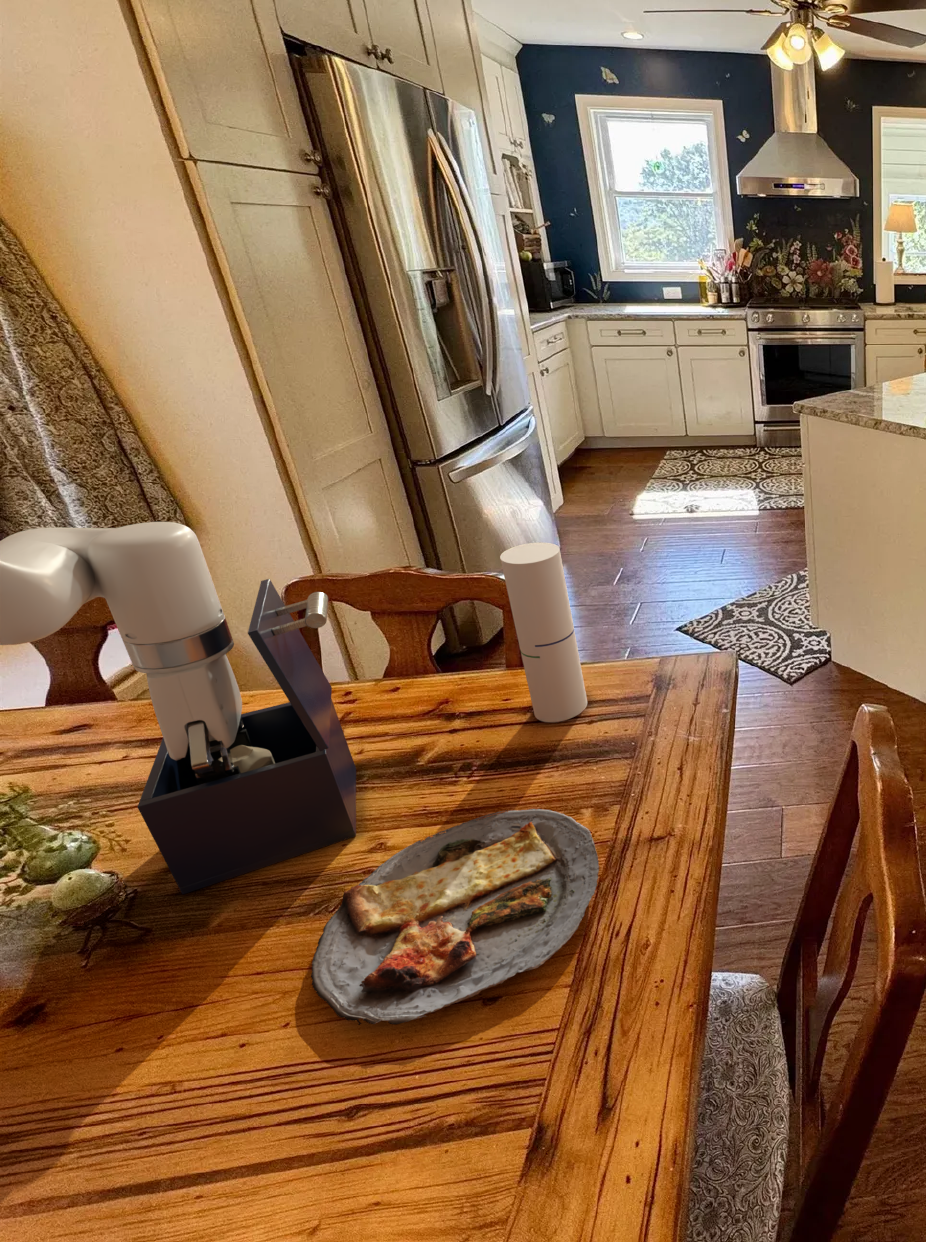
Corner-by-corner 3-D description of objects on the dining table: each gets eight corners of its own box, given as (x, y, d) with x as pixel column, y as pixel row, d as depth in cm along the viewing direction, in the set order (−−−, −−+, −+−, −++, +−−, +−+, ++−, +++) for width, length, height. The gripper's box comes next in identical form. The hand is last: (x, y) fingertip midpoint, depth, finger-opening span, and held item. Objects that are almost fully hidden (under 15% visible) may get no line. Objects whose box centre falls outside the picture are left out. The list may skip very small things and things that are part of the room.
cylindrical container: (584, 718, 106) (555, 561, 96) (530, 725, 104) (494, 566, 94) (589, 690, 112) (563, 540, 102) (538, 697, 110) (506, 544, 100)
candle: (243, 813, 86) (213, 744, 82) (301, 800, 88) (274, 733, 84) (224, 846, 81) (191, 775, 77) (286, 832, 83) (256, 762, 79)
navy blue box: (182, 895, 77) (136, 807, 72) (202, 814, 87) (164, 732, 82) (356, 836, 84) (325, 753, 80) (356, 768, 95) (329, 691, 90)
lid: (247, 633, 72) (313, 613, 75) (260, 580, 82) (318, 564, 85) (320, 751, 79) (378, 729, 82) (324, 690, 90) (375, 672, 92)
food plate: (303, 1084, 60) (290, 1057, 59) (330, 885, 78) (320, 861, 77) (621, 946, 73) (616, 920, 71) (581, 801, 91) (576, 779, 89)
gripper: (147, 615, 79) (200, 750, 86) (106, 694, 66) (172, 845, 73) (239, 600, 83) (283, 730, 90) (218, 672, 70) (270, 817, 77)
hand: (233, 780), depth 81 cm, fingers open, 6 cm apart
